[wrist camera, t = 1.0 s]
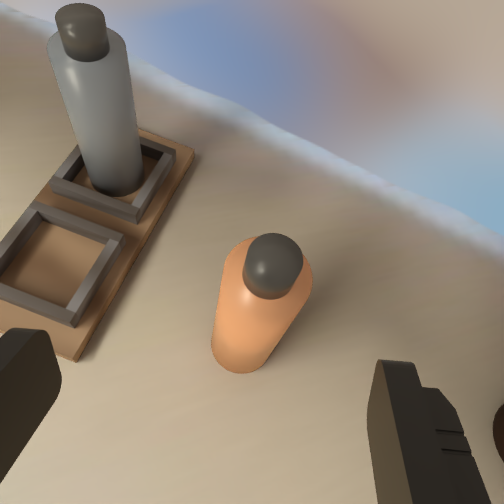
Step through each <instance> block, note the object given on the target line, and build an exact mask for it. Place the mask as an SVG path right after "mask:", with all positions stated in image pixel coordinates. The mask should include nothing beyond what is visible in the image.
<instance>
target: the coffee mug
mask: <svg viewBox="0 0 504 504" xmlns="http://www.w3.org/2000/svg"><path fill="white" fill-rule="evenodd" d="M493 437H494V441H495V445H496V448H497V450H498V453H499V455H500V457H501V458H502V460H503V462H504V405H502V406H501V407H500V408H499V410H498V411H497V413H496V415H495V418H494V422H493Z"/></svg>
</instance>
